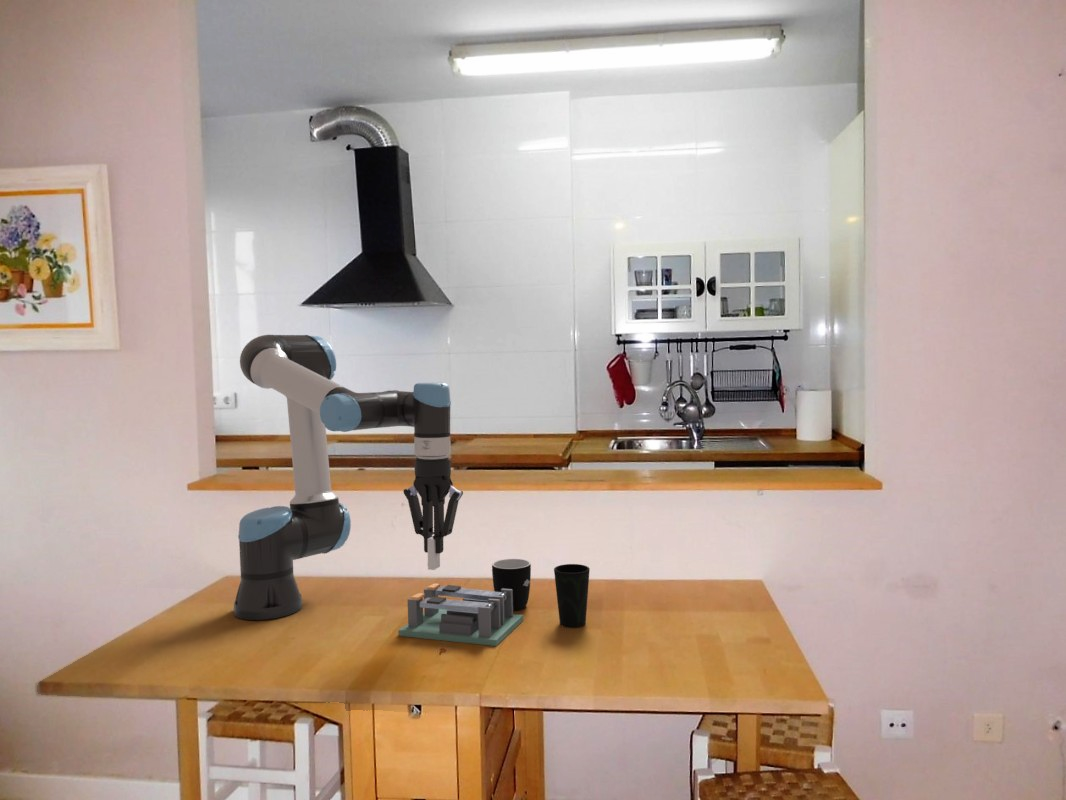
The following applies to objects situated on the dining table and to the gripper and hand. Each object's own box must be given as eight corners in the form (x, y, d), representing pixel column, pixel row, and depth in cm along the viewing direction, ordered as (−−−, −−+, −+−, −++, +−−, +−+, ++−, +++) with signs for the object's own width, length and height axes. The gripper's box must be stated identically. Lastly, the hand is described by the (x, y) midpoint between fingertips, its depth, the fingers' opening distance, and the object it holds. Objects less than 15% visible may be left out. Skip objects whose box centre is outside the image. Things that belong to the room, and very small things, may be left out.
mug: (528, 613, 172) (527, 569, 172) (489, 612, 174) (488, 568, 173) (536, 597, 184) (535, 555, 184) (499, 596, 185) (498, 555, 185)
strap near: (419, 608, 160) (419, 600, 160) (427, 603, 163) (427, 595, 163) (489, 615, 155) (489, 606, 155) (496, 609, 158) (496, 601, 158)
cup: (548, 626, 163) (547, 570, 163) (564, 615, 170) (563, 562, 170) (581, 631, 160) (580, 574, 159) (596, 620, 166) (595, 566, 166)
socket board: (398, 635, 159) (397, 599, 159) (432, 611, 175) (431, 579, 174) (496, 646, 152) (495, 608, 152) (523, 620, 167) (522, 586, 167)
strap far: (435, 596, 167) (435, 588, 167) (442, 591, 170) (442, 583, 170) (502, 603, 162) (502, 596, 162) (508, 599, 165) (508, 591, 165)
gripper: (396, 457, 158) (397, 570, 159) (453, 460, 154) (454, 575, 155) (413, 453, 165) (414, 560, 166) (468, 455, 161) (469, 565, 162)
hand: (433, 567), depth 161 cm, fingers closed
